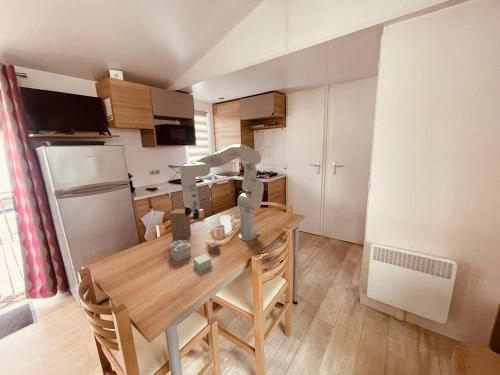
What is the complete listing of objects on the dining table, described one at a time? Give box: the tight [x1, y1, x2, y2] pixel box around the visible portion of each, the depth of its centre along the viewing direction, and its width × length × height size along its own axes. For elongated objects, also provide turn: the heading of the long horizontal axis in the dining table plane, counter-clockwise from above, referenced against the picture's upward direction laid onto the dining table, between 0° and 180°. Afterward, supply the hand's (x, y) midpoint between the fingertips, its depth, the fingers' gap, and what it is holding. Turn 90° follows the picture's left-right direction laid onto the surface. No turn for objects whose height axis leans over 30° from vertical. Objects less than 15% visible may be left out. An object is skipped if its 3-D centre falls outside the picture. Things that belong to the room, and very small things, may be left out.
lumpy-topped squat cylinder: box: [169, 239, 192, 262], centre depth 122 cm, size 10×13×9 cm
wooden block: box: [169, 208, 192, 241], centre depth 146 cm, size 10×10×20 cm
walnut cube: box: [207, 241, 221, 254], centre depth 126 cm, size 5×5×5 cm
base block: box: [192, 253, 213, 271], centre depth 111 cm, size 7×7×4 cm
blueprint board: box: [191, 263, 215, 273], centre depth 113 cm, size 16×14×1 cm
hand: (192, 217), depth 113 cm, fingers open, 9 cm apart
